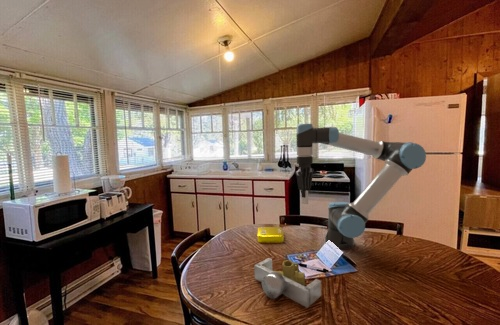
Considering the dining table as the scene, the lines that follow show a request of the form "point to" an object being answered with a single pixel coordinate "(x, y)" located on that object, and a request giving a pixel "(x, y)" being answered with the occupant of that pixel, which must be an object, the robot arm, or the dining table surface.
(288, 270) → the brass pipe tee
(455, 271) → the dining table surface
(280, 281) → the grey bracket with knob
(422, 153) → the robot arm
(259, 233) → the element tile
